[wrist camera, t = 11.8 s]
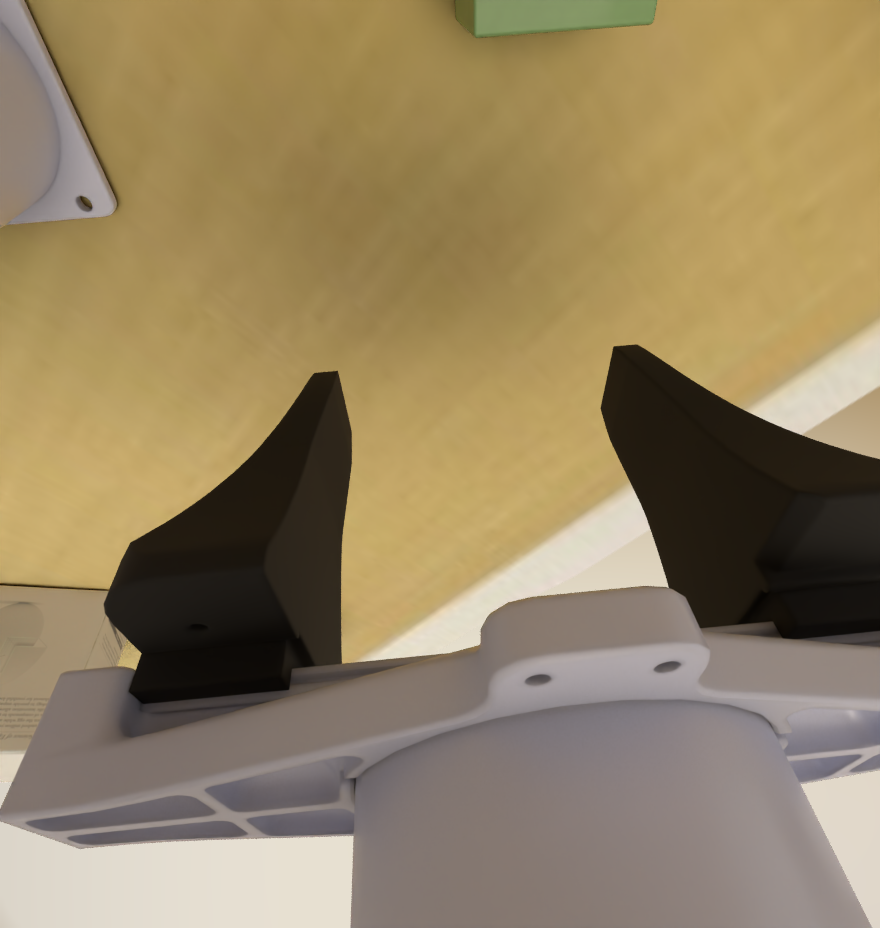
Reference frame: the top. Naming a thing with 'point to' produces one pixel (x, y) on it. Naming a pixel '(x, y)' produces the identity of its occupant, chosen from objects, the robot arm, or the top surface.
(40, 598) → the cosmetics box
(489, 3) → the block
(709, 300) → the top surface
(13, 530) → the top surface
